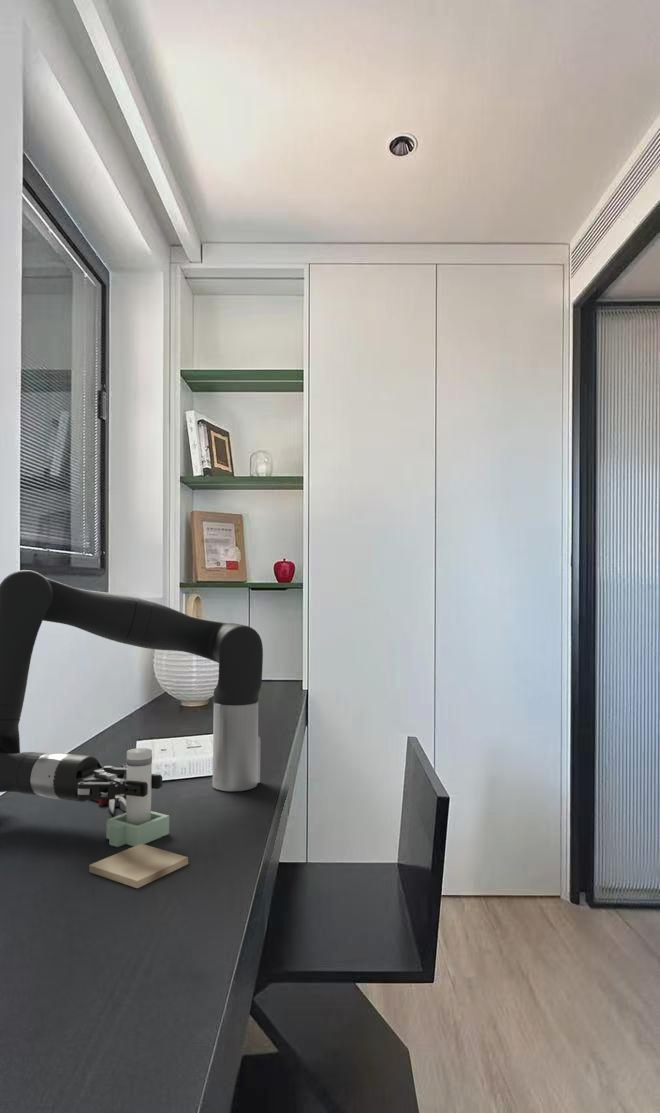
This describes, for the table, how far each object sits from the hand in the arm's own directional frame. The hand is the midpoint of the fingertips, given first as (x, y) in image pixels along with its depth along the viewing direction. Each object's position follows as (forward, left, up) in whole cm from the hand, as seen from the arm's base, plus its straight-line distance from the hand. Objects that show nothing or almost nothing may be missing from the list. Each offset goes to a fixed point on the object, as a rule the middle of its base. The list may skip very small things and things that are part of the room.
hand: (153, 785), depth 117 cm
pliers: (-9, -23, -9) cm, 26 cm away
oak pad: (+10, +7, -9) cm, 15 cm away
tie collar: (+1, -3, -9) cm, 9 cm away
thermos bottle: (+1, -3, -9) cm, 9 cm away
